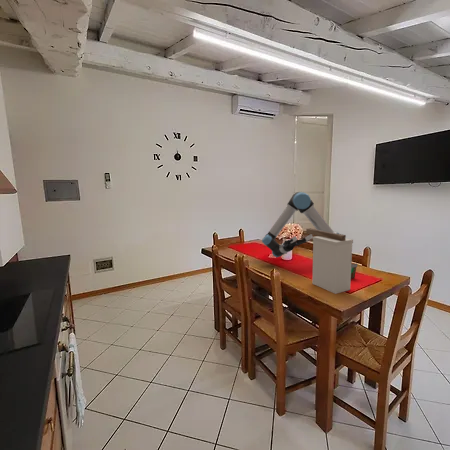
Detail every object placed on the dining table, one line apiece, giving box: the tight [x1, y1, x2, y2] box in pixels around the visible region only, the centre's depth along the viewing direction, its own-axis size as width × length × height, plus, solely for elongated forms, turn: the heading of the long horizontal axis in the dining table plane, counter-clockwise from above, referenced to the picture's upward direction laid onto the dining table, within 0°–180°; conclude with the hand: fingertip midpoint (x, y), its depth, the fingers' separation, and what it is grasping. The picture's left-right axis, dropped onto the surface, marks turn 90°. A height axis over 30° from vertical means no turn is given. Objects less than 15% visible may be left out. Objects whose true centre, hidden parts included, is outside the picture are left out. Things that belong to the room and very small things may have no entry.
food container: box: [351, 263, 358, 280], centre depth 176 cm, size 12×6×10 cm, turn 36°
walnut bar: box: [305, 228, 347, 241], centre depth 162 cm, size 3×28×3 cm, turn 26°
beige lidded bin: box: [311, 235, 354, 295], centre depth 159 cm, size 13×18×30 cm
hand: (304, 237), depth 178 cm, fingers open, 13 cm apart
